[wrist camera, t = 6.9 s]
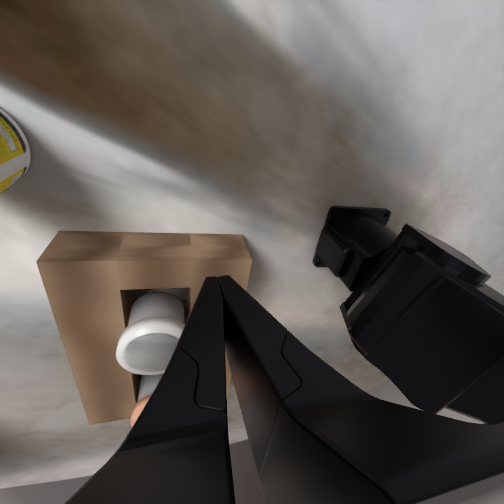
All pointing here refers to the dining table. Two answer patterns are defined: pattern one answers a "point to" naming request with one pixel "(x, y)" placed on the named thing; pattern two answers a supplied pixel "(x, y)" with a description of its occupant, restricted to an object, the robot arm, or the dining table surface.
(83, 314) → the wooden socket block
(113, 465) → the robot arm
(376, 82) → the dining table surface
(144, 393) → the plug
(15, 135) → the supplement bottle
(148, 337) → the plug
